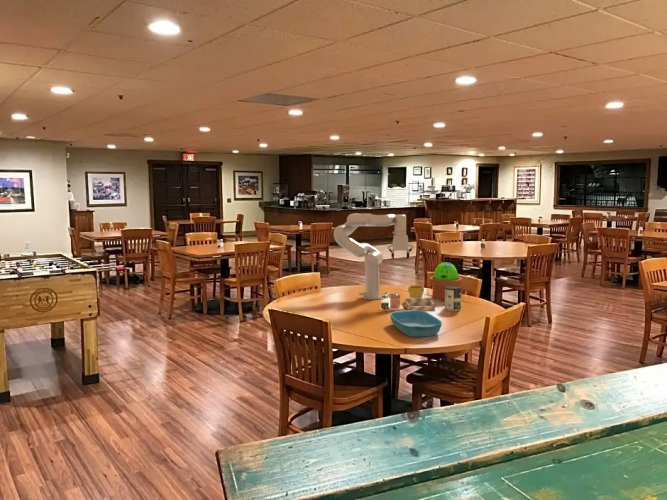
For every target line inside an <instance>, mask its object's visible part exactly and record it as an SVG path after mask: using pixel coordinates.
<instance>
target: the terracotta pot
mask: <svg viewBox="0 0 667 500" xmlns="http://www.w3.org/2000/svg"><path fill="white" fill-rule="evenodd" d="M389 296H390V300H389V301H390V304H389V305H390V307H391V308H399V307H400V305H401V296H402V295H401V293H390V294H389Z"/></svg>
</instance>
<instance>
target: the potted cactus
mask: <svg viewBox="0 0 667 500" xmlns="http://www.w3.org/2000/svg"><path fill="white" fill-rule="evenodd" d="M428 280H429V281H428V282H429V285H432V298H433V299H436V300H441V301H445V286H450V285H454V286H461V285H463V278H462V277H461V276H459V273H458V270H457V268H456V266H455V265H454V264H453V263H451V262H446V261H445V262H441V263H439V264H438V265H437V266H436V267H435V269H434V271H433V275H432V276H430V277H429V279H428Z"/></svg>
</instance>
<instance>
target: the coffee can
mask: <svg viewBox="0 0 667 500" xmlns="http://www.w3.org/2000/svg"><path fill="white" fill-rule="evenodd" d="M462 289H463V288H462V286H461V285H459V286H454V285H450V286H445V300H444V310H447V311H449V312H452V311H453V312H457V311H458V310H459V311H461V310H462Z"/></svg>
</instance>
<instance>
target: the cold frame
mask: <svg viewBox="0 0 667 500" xmlns="http://www.w3.org/2000/svg"><path fill="white" fill-rule="evenodd" d="M404 304H405V305H404V307H405V308H406V309H407V310H420V311H435V310H436V304H435V303H434V302H433V301H432V297H422V298H410V297H409V298H405V299H404Z"/></svg>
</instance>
